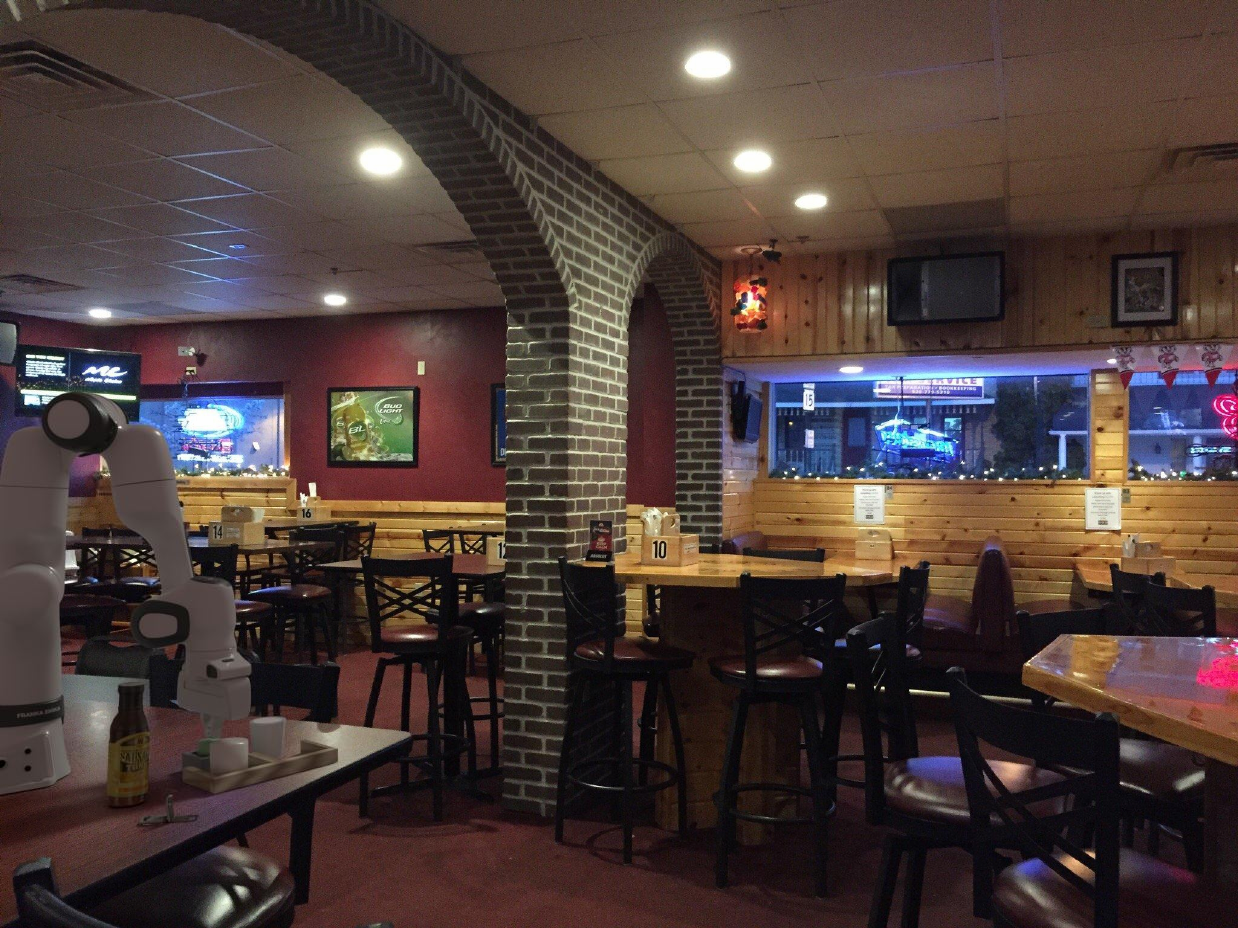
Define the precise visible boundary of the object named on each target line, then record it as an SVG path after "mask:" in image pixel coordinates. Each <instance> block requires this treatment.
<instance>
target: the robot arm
mask: <svg viewBox="0 0 1238 928" xmlns="http://www.w3.org/2000/svg"><path fill="white" fill-rule="evenodd" d="M171 454H172V453H171V451H170V448H169V445H168V442H167V439H166V437H165V435H164V433H163V432H162V431H161V430H160V429H159V428H157V427H155V426H153V425H148V424H142V423H139V424H138V423H136V424H130V419H129V416H128V414H127V412H126V411H125V408H123V407H122V405H121V404H119V403H118V402H116V401H115V400H114V399H111V398H108V397H106V396H104V395H101V394H98V393H93V392H83V391H68V392H63V393H61V394H59V395H56V396H54V397H53V398H51V399H50V400H49V401H48V402H47V403H46V404H45V406H44V408H43V410H42V414H41V426H28V427H26V426H25V427H23V428H21V429H17V430H15V431H14V432H12V434H11V435H10V437H9V438H8V440H7V444H6V447H5V450H4V454H3V458H2V463H1V469H0V795H5V794H11V793H17V792H22V791H23V792H24V791H30V790H34V789H39V788H46V787H49V786H53V785H54V784H55V783H56V782H57V781H58V780H60V779H61V778H65V776H68V774H70V773H71V771H72V768H71V765H70V762H69V759H68V755H67V751H66V746H65V745H66V744H65V740H64V739H65V738H64V731H63V726H64V723H65V715H66V711H65V710H66V709H65V708H66V707H65V706H66V705H65V697H64V695H63V694H62V645H61V644H62V643H61V628H60V626H61V625H60V603H61V601H62V599H63V597H64V595H65V584H66V583H65V582H66V581H65V580H66V559H67V557H66V556H67V552H66V551H67V549H66V548H67V547H66V546H67V545H66V544H67V521H68V519H67V518H68V507H69V505H68V503H69V492H70V491H69V487H70V472H71V467H72V465H73V462H74V461H75V459H76V458H78V457H79V458H84V457H89V456H92V455H98V456H100V457H101V458H103V459H104V461H105V463H106V465H107V467H108V472H109V473H108V474H109V479H110V487H111V494H112V495H111V496H112V500H113V501H112V502H113V505H114V509H115V511H116V515H117V516H118V519H119V521H120V522H121V523H122V524H123V525H124V526H125V527H126V528H128V529H130V530H131V531H133V532H135V533H136V534H138V535H139V536H141V537H142V538H144V539H145V541H147V542H148V544H149V546H150V548H151V549H152V550H153V554H154V558H155V563H156V567H157V571H158V572H157V573H158V576H159V581H160V584H161V585H160V586H161V593H160V594H159V595H156V596H154V597H153V596H152V597H151V598H148V599H146V600H144V601H142V602H141V603H139V604H138V605H137V606H136V607H135V608H134V610H133V612H132V613H131V616H130V621H129V628H130V632H131V635H132V637H133V639H135V641H136V642H137V643H139V644H140V645H141V646H142V647H145V648H148V649H165V648H166V649H167V648H168V647H171V646H174V645H179V644H180V645H181V644H182V645H184V646H185V661H184V662H183V664H182V666H181V670H180V671H179V673H178V677H177V687H176V690H177V691H176V702H177V705H178V707H179V708H182V709H185V710H188V711H192V712H196V713H199V715H200V716H199V718H200V721H201V723H202V726H203V728H204V729H203V731H204V732H203V733H204V734H203V735H204V737H206V738H212V739H217V738H221V737H222V728H223V725H224V722H225V720H227V721H233V722H234V721H238V720H243V719H246V718H248V716H249V714H250V712H251V702H252V700H251V699H252V697H251V696H252V695H251V689H252V688H251V682H250V678H249V677H248V676H250V675H251V674H252V664H251V663H250V662H249V661H247V660H246V659H245V658H244V657H243V656H242V655H241V654H240V652H238V651H237V649H238V648H237V640H236V638H235V628H236V624H237V614H236V613H237V611H236V610H237V609H236V608H237V607H236V601H235V600H236V598H235V592H234V590H233V589H234V588H233V586H232V584H231V582H229V581H228V580H225V579H224V578H221V577H216V576H211V575H210V576H209V575H207V576H205V575H199V576H197V575H196V572H195V569H194V568H195V567H194V563H193V559H192V554H191V548H190V544H189V541H188V535H187V533H186V527H185V524H184V520H183V515H182V512H181V505H180V498H179V491H178V486H177V485H178V484H177V478H176V471H175V465H174V463H173V458H172V455H171Z"/></svg>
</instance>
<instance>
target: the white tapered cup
mask: <svg viewBox="0 0 1238 928" xmlns="http://www.w3.org/2000/svg"><path fill="white" fill-rule="evenodd" d="M286 723H287V718H286V717H284V716H278V715H277V716H275V715H273V716H272V715H271V716H262V717H256V718H254V719H251V720H249V732H250V742H251V752H253V751H255V752H259V753H262V754H265V755H268V756H272V757H275V758H277V757H278V758H280V757H282V756H283V755H284V745H285V736H286V735H285V734H286V725H287V724H286Z"/></svg>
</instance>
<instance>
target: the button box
mask: <svg viewBox="0 0 1238 928" xmlns="http://www.w3.org/2000/svg"><path fill="white" fill-rule="evenodd" d="M181 762H182V763H181V765H182V767H181V770H182V771H183V768H184V767H188V766H193V767H195V768H198V769H201V770H204V771H207V772H209V773H210V756H208V757H201V756H198V755H197V749H195V750H190V751H184V752H182V753H181Z"/></svg>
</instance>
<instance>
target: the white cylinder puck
mask: <svg viewBox="0 0 1238 928" xmlns="http://www.w3.org/2000/svg"><path fill="white" fill-rule="evenodd" d="M248 752H249V739H248V738H245V737H236V736H235V737H226V738H225V737H224V738H221V739H219V740H215V741H213V742H211V743H210V773H212V774H215V775H218V776H219V775H223V774H227V773H231V772H235V771H239V770H243V769H247V768H248Z"/></svg>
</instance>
